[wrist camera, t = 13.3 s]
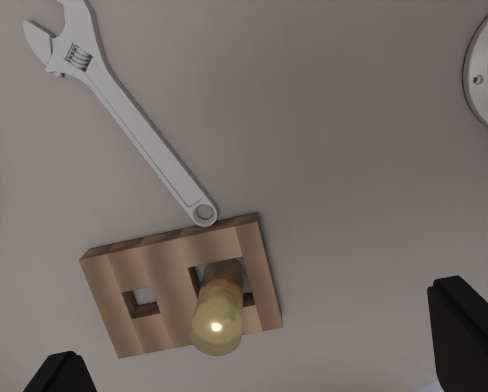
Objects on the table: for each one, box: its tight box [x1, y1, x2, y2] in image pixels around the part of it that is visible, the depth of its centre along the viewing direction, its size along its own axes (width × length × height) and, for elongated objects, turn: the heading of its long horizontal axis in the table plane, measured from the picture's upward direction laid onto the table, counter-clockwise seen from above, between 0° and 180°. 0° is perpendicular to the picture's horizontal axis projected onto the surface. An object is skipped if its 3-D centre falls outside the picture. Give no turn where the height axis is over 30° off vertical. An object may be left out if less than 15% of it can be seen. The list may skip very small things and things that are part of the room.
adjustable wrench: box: [22, 0, 218, 227], centre depth 36 cm, size 25×6×2 cm, turn 31°
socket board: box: [79, 213, 283, 359], centre depth 40 cm, size 18×12×2 cm, turn 103°
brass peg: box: [190, 258, 244, 356], centre depth 36 cm, size 4×4×10 cm
